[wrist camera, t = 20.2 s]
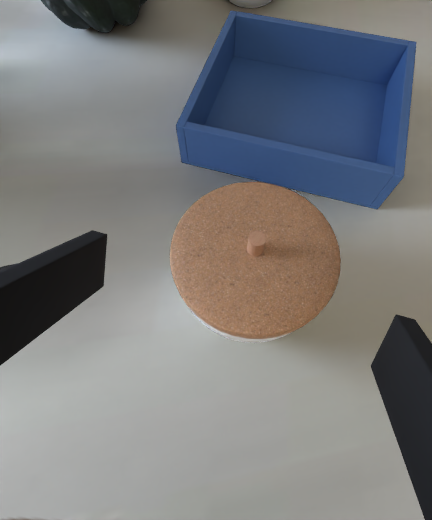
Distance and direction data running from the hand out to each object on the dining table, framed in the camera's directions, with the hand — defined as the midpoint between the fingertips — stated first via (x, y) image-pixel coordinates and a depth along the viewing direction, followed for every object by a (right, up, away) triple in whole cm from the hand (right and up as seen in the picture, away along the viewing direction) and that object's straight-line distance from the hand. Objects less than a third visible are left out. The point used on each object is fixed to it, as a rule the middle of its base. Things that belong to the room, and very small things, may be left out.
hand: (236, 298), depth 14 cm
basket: (+7, +17, +20) cm, 27 cm away
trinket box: (+2, -1, +13) cm, 13 cm away
